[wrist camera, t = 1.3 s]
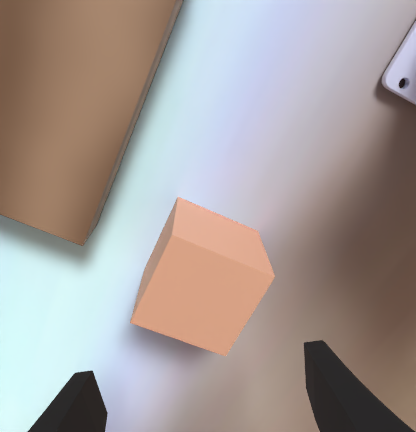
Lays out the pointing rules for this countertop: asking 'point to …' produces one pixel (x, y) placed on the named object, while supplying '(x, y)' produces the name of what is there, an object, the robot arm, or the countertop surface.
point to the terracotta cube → (202, 279)
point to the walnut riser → (72, 103)
